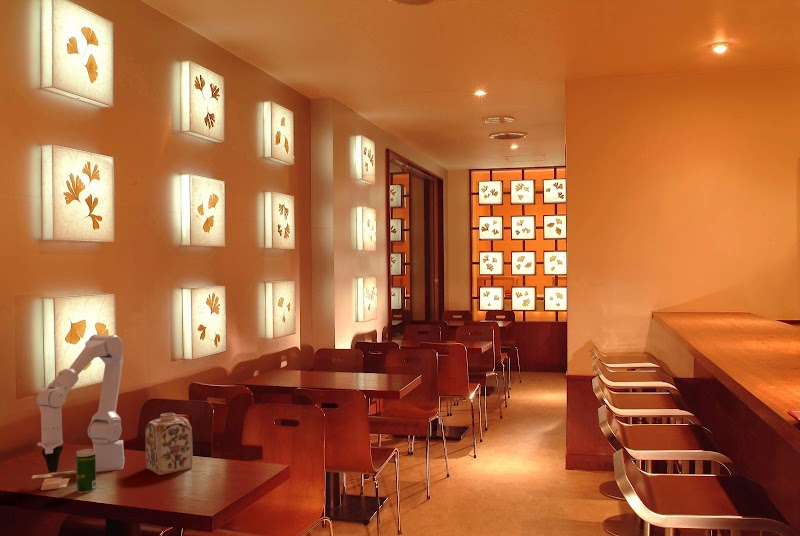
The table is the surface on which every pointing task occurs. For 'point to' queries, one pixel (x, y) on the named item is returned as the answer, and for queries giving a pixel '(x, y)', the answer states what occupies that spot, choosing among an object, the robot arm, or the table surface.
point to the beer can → (86, 470)
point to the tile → (52, 483)
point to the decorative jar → (169, 444)
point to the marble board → (64, 482)
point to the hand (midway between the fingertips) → (52, 471)
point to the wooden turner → (52, 474)
